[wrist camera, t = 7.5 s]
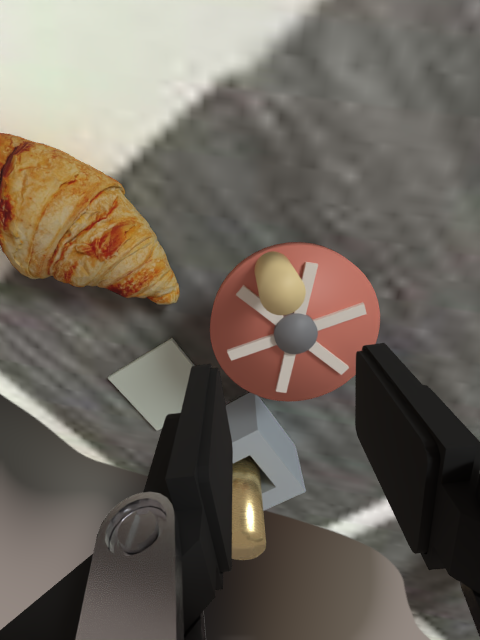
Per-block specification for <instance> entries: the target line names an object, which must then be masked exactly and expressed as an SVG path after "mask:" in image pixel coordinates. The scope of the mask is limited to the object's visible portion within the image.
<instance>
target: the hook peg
mask: <svg viewBox="0 0 480 640" xmlns="http://www.w3.org/2000/svg"><path fill="white" fill-rule="evenodd" d="M265 548H266V538H265V526H264V514H263V502H262V490H261V478H260V467H259V465H258V464H257V463H256V462H255V461H254V459H253V458H252V457H251V456H250V455H249V456H247V457H245V458H243V459H241V460H239V461H237V462H235V463H233V477H232V558H233V559H237V560H248V559H253V558H256V557H257V556H259V555H261V554H262V553H263V552H264V550H265Z"/></svg>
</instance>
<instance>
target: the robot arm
mask: <svg viewBox="0 0 480 640" xmlns="http://www.w3.org/2000/svg"><path fill="white" fill-rule="evenodd" d="M355 425H356V432H357V436H358V438H359V440H360V443H361V445H362V447H363V449H364V451H365V453H366V455H367V457H368V460H369V462H370V464H371V466H372V468H373V470H374V472H375V474H376V476H377V479H378V481H379V483H380V485H381V487H382V489H383V491H384V493H385V495H386V498H387V500H388V502H389V504H390V506H391V508H392V510H393V512H394V515H395V517H396V519H397V521H398V523H399V525H400V527H401V529H402V531H403V534H404V536H405V538H406V540H407V542H408V544H409V546H410V548H411V550H412V551H413V552H414V553H421V555H422V557H423V559H424V561H425V563H426V565H427V567H428V569H429V570H432V569H443V568H446V570H447V572H448V574H449V575H450V576H452V577H453V578H455V579H456V580H458V581H460V585H461V589H462V592H463V595H464V597H465V600H466V603H467V605H468V608H469V610H470V613H471V616H472V618H473V621H474V624H475V626H476V629H477V632H478V634H479V637H480V442H479V441H478V439H477V438H476V437H475V436H474V435H473V434H472V433H471V432H470V431H469V430H468V429H467V428H466V427H465V425H464V424H463V423H462V422H461V421H460V420H459V419H458V418H457V417H456V416H455V415H454V414H453V412H452V411H451V410H450V409H449V408H448V407H447V406H446V405H445V404H444V403H443V402H442V401H441V400H440V398H439V397H438V396H437V395H436V394H435V393H434V392H433V391H432V390H431V389H430V388H429V387H428V386H426V385H422V384H421V383H420V382H419V381H418V379H417V378H416V377H415V376H414V375H413V374H412V373H411V372H410V371H409V369H408V368H407V367H406V366H405V365H404V364H403V363H402V362H401V361H400V360H399V358H398V357H397V356H396V355H395V354H394V353H393V352H392V351H391V350H390V348H389V347H388V346H387V345H386V344H385V343H380V344H372V345H364V346H363V347H362V351H357V352H356V418H355ZM232 477H233V447H232V438H231V433H230V427H229V422H228V416H227V411H226V405H225V399H224V394H223V388H222V383H221V377H220V372H219V369H218V368H214V369H212V366H211V364H206V365H198V366H192V367H191V371H190V375H189V380H188V384H187V388H186V392H185V397H184V401H183V405H182V410H181V413H174V414H168V415H167V416H166V418H165V421H164V424H163V427H162V431H161V434H160V438H159V441H158V444H157V448H156V451H155V455H154V458H153V462H152V465H151V468H150V472H149V475H148V479H147V482H146V486H145V489H144V492H143V493H138V494H136V495H133V496H131V497H128V498H127V499H125V500H123V501H122V502H120V503H119V504H118V505H116V506H115V507H114V508H113V509H112V510H111V511H110V512H109V513H108V515H107V516H106V518H105V519H104V521H103V522H102V524H101V526H100V529H99V532H98V534H97V538H96V543H95V548H94V553H93V554H92V555H91V556H90V557H88V558H87V559H86V560H85V561H84V562H83V563H81V564H80V565H79V566H77V567H76V568H75V569H74V570H73V571H71V572H70V573H69V574H68V575H67V576H65V577H64V578H63V579H62V580H61V581H59V582H58V583H57V584H56V585H54V586H53V587H52V588H51V589H50V590H48V591H47V592H46V593H45V594H44V595H42V596H41V597H40V598H39V599H38V600H36V601H35V602H34V603H33V604H32V605H30V606H29V607H28V608H27V609H26V610H24V611H23V612H22V613H21V614H20V615H18V616H17V617H16V618H15V619H13V620H12V621H11V622H10V623H9V624H7V625H6V626H5V627H4V628H3V629H1V630H0V640H206V635H205V623H204V609H205V608H206V607H207V606H208V605H209V603H210V602H211V601H212V600H213V599H214V598H215V590H219V589H223V572H227V571H231V567H232Z"/></svg>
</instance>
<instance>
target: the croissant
mask: <svg viewBox="0 0 480 640" xmlns="http://www.w3.org/2000/svg"><path fill="white" fill-rule="evenodd" d="M124 194H125V190H124V188H123V187H122V185H121V184H120V183H119V182H118V181H116V180H115V179H113V178H111V177H109V176H107V175H105V174H104V173H103V172H101V171H99V170H97V169H95V168H93V167H91V166H90V165H87V164H85V163H83V162H81V161H79V160H77V159H75V158H74V157H72V156H70V155H69V154H67V153H65V152H63V151H61V150H58V149H56V148H53V147H50V146H47V145H44V144H41V143H36V142H33V141H29V140H26V139H24V138H21V137H18V136H14V135H10V134H4V133H0V245H1V247H2V251H3V252H4V253H5V255H6V256H7V258H8V259H9V261H10V262H11V264H12V265H13V266H14V267H15V268H16V269H17V270H18V271H19V272H20V273H21V274H23V275H24V276H27V277H29V278H31V279H38V278H41V279H43V278H47V277H50V276H53V277H54V278H55V279H56V280H58V281H60V282H64V283H69V284H71V285H72V286H76V287H84V286H86V285H89V286H99V287H101V288H106V289H108V290H110V291H113V292H115V293H117V294H119V295H121V296H123V297H126V298H130V297H139V298H145V297H147V298H148V299H150V300H151V301H153V302H155V303H157V304H158V305H160V304H172V303H177V300H178V298H179V294H180V291H179V285H178V283H177V280H176V277H175V275H174V273H173V271H172V269H171V268H170V265H169V263H168V261H167V257H166V254H165V252H164V250H163V248H162V247H161V245H160V244H159V242H158V241H157V237H156V234H155V233H154V232H153V231H152V229H151V228H150V226H149V224H148V223H147V221H146V220H145V219H144V218H143V217H142V216H141V215H140V214H139V212H138V211H137V210H136V209H135V207H134V206H133V205H132V204H131V203H130V202H129V201H128V200H127V198H126V197H125V196H124Z"/></svg>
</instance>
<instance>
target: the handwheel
mask: <svg viewBox="0 0 480 640" xmlns="http://www.w3.org/2000/svg"><path fill="white" fill-rule="evenodd" d="M379 326H380V311H379V304H378V300H377V297H376V294H375V291H374V289H373V287H372V285H371V283H370V282H369V280H368V279H367V278H366V276H365V275H364V274H363V273H362V272H361V271H360V270H359V268H358V267H357V266H355V265H354V264H353V263H351V262H350V261H349V260H347V259H346V258H345V257H343V256H342V255H340V254H339V253H337V252H335V251H333V250H331V249H329V248H326V247H323V246H321V245H316V244H312V243H303V242H290V243H282V244H277V245H273V246H270V247H267V248H264V249H262V250H260V251H258V252H255V253H253V254H252V255H250V256H249V257H247V258H246V259H244V260H243V261H242V262H240V263H239V264H238V265H237V266H236V267H235V268H234V269H233V270H232V271H231V272H230V273H229V274H228V276H227V277H226V279H225V280H224V281H223V283H222V285H221V286H220V288H219V290H218V292H217V295H216V298H215V301H214V304H213V309H212V314H211V321H210V337H211V343H212V347H213V351H214V353H215V356H216V359H217V360H218V362H219V364H220V366H221V367H222V369H223V370H224V371H225V373H226V374H227V375H228V376H229V377H230V378H231V379H232V380H233V381H234V382H235V383H237V384H238V385H239V386H240V387H242V388H243V389H245V390H247V391H249V392H250V393H253V394H255V395H257V396H260V397H263V398H267V399H271V400H277V401H301V400H307V399H312V398H315V397H319V396H321V395H324V394H327V393H329V392H331V391H333V390H335V389H337V388H338V387H340V386H341V385H343V384H344V383H346V382H347V381H348V380H350V379H351V378H352V377H353V376H354V375H355V374H356V352H357V351H362V347H363V346H364V345H372V344H375V343H376V340H377V337H378V333H379Z"/></svg>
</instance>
